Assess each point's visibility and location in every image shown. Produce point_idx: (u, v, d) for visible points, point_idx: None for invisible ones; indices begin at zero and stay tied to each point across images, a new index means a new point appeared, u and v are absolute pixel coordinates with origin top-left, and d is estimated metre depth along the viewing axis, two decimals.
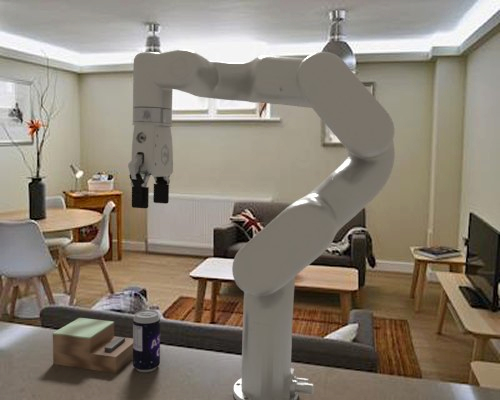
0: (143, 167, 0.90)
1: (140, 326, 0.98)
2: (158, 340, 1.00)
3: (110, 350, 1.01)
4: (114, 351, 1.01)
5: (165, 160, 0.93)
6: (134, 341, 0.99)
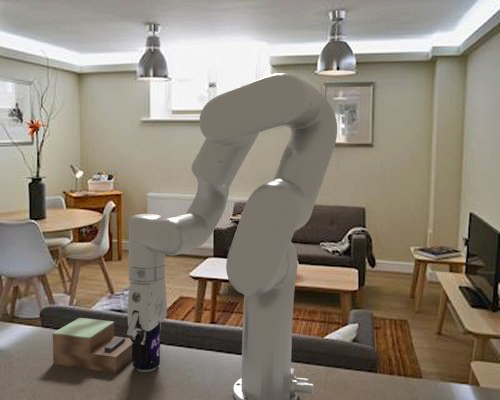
0: (138, 321, 0.98)
1: (140, 326, 0.98)
2: (158, 340, 1.00)
3: (110, 350, 1.01)
4: (114, 351, 1.01)
5: (159, 310, 1.00)
6: None
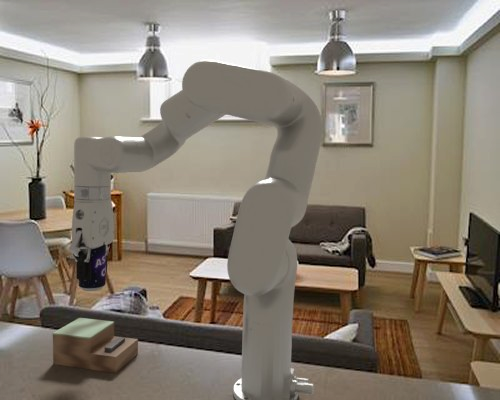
0: (83, 240, 1.00)
1: (84, 245, 1.00)
2: (103, 260, 1.03)
3: (110, 350, 1.01)
4: (114, 351, 1.01)
5: (104, 231, 1.03)
6: None
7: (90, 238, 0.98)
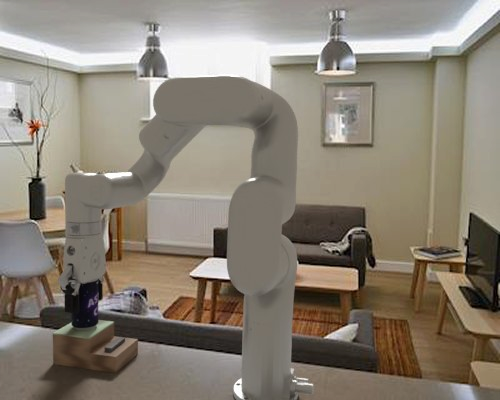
0: (74, 274, 1.01)
1: None
2: (95, 300, 1.04)
3: (110, 350, 1.01)
4: (114, 351, 1.01)
5: (96, 265, 1.04)
6: None
7: (81, 273, 0.99)
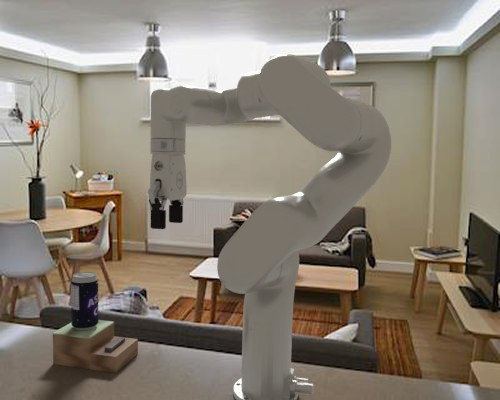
0: (160, 192, 1.00)
1: (77, 286, 1.02)
2: (95, 300, 1.04)
3: (110, 350, 1.01)
4: (114, 351, 1.01)
5: (180, 185, 1.03)
6: (72, 300, 1.03)
7: (169, 189, 0.98)
